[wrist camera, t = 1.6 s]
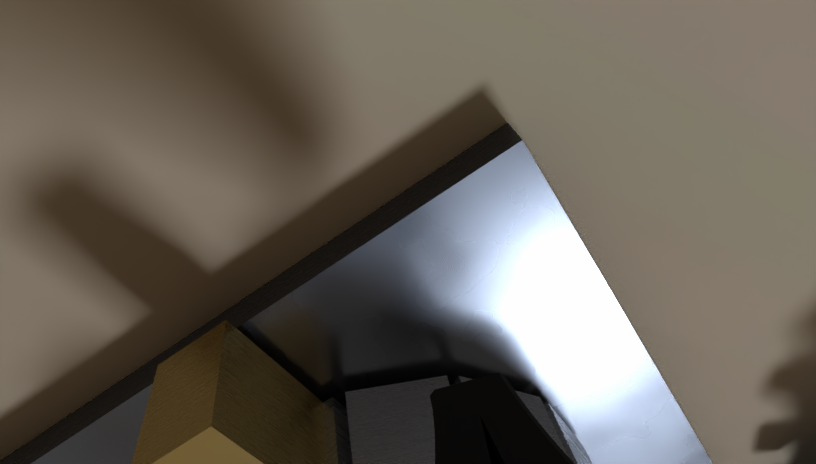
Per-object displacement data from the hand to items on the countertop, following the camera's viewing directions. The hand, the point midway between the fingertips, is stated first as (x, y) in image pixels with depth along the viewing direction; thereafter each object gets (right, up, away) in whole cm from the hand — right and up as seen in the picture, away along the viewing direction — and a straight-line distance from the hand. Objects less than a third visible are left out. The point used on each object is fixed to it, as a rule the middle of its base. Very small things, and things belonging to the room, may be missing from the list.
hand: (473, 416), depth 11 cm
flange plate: (-1, -4, +8) cm, 9 cm away
